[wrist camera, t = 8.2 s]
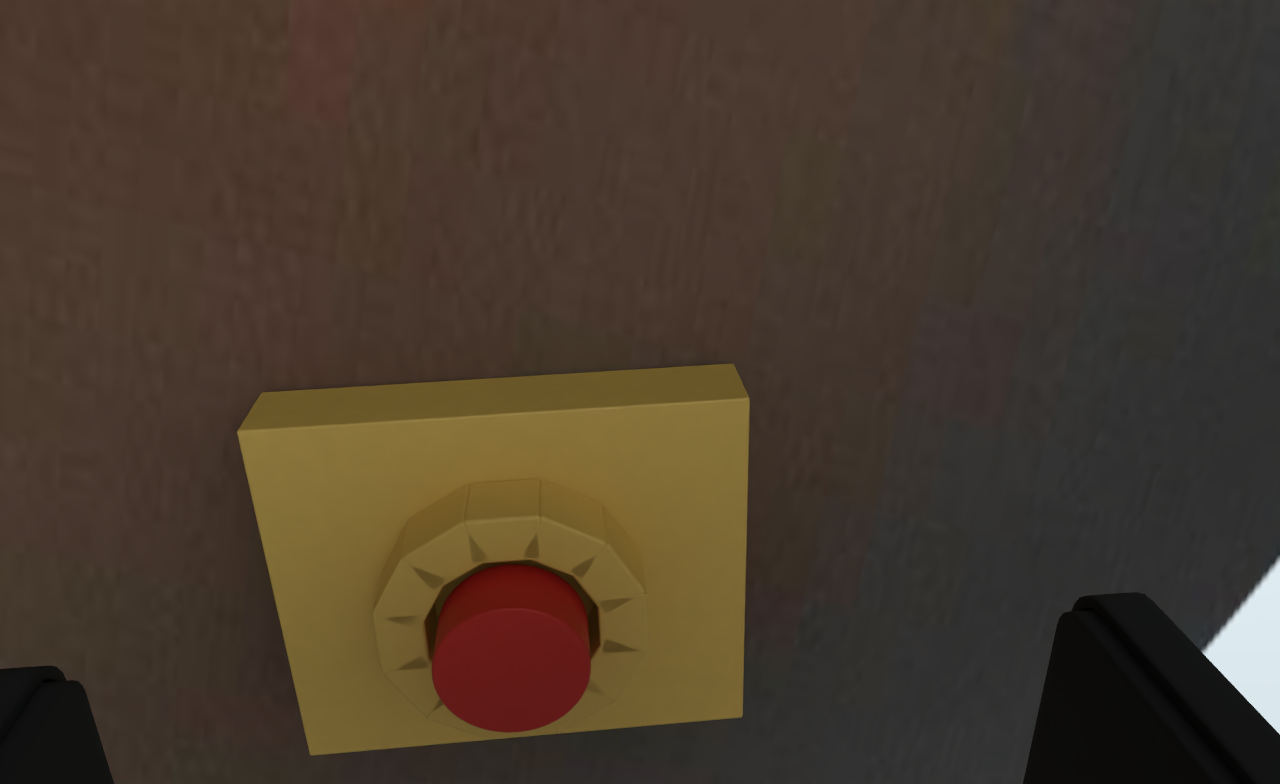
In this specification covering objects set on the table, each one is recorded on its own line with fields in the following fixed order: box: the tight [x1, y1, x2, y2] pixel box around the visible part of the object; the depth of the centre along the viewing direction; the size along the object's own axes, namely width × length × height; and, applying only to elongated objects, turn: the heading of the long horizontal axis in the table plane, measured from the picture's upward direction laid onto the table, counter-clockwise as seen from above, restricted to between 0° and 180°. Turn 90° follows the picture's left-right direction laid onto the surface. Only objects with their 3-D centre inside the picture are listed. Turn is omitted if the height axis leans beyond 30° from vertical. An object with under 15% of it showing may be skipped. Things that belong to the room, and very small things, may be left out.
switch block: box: [237, 363, 750, 755], centre depth 25 cm, size 12×10×4 cm
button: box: [431, 564, 591, 733], centre depth 23 cm, size 4×4×2 cm
